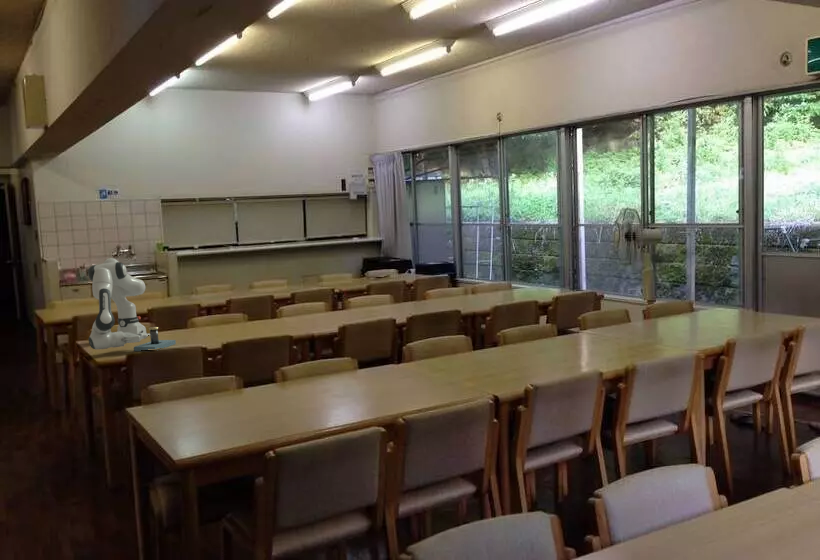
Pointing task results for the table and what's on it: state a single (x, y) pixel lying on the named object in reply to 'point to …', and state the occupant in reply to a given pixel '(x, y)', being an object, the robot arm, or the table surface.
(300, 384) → the table surface
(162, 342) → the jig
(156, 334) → the dark grey cylinder
